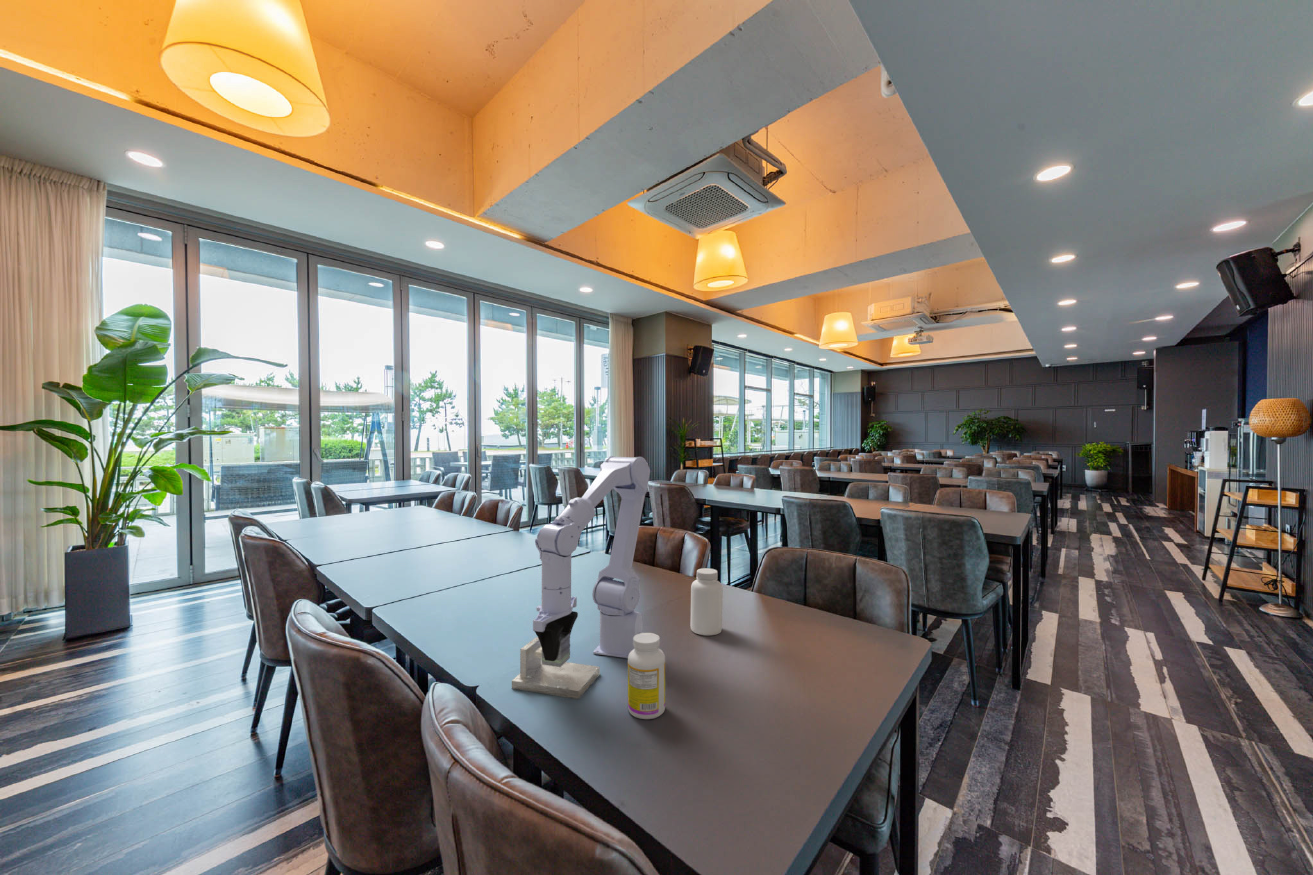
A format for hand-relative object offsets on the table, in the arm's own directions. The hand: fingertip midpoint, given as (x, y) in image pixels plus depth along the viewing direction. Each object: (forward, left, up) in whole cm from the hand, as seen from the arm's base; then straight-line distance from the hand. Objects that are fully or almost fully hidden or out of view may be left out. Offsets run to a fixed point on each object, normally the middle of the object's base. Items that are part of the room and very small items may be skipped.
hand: (556, 654), depth 95 cm
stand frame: (0, 0, -5) cm, 5 cm away
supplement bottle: (-20, +5, -6) cm, 21 cm away
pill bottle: (-24, -34, -6) cm, 42 cm away
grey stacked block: (0, 0, -1) cm, 1 cm away
